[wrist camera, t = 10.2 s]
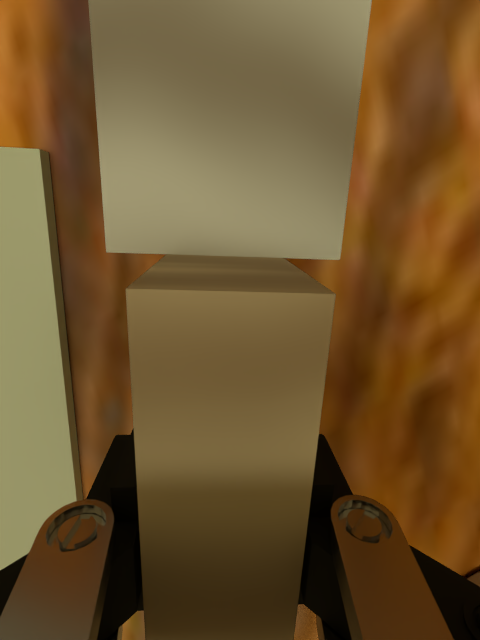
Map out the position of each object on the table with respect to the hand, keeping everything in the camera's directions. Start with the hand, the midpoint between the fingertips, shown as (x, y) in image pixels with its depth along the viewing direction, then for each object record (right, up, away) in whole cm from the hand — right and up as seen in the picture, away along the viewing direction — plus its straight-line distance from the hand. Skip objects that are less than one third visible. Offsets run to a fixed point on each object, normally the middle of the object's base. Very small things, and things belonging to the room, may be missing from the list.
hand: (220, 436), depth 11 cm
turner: (0, +2, 0) cm, 2 cm away
